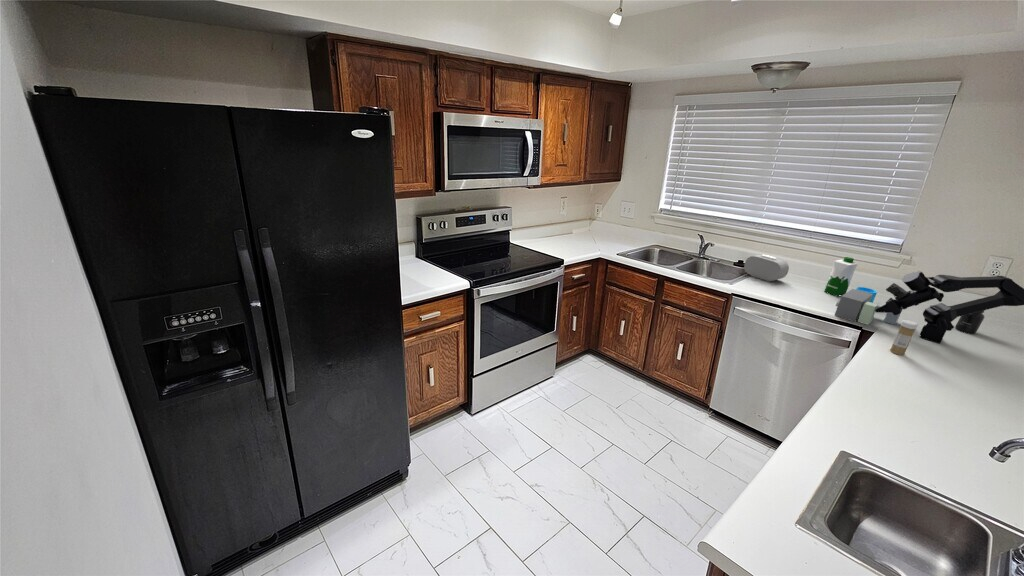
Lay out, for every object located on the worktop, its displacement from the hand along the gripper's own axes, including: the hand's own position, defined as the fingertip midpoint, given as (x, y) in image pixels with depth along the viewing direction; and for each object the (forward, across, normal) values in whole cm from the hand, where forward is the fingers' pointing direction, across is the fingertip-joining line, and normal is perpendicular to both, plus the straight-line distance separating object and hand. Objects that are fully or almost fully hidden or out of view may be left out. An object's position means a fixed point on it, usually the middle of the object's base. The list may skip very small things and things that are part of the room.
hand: (875, 311), depth 186 cm
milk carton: (+21, -34, -12) cm, 42 cm away
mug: (+12, -29, -2) cm, 32 cm away
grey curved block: (+11, -6, -2) cm, 13 cm away
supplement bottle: (-15, -31, +25) cm, 42 cm away
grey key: (+5, -12, +4) cm, 14 cm away
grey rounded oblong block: (+45, -26, -35) cm, 63 cm away
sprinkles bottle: (-5, +25, +15) cm, 29 cm away
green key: (+10, 0, -1) cm, 10 cm away
